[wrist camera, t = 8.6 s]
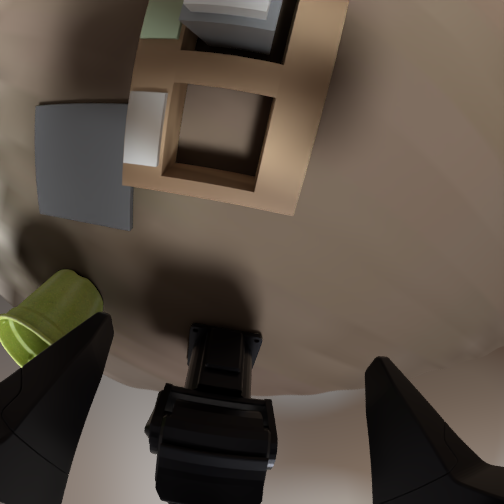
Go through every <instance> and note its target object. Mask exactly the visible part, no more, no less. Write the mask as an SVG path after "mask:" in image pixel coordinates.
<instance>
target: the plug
mask: <svg viewBox="0 0 504 504" xmlns="http://www.w3.org/2000/svg"><path fill="white" fill-rule="evenodd" d="M282 1H283V0H184V2H183V5H182V9H181V13H180V16H179V21H180V22H181V23H183V24H184V25H185V26H186V27H187V28H189V29H190V30H191V31H192V32H193V33H195V34H196V35H197V36H198V37H199V38H201V39H202V40H203V41H204V42H205V43H206V44H207V45H209V46H214V47H223V48H231V49H238V50H244V51H250V52H256V53H261V54H266V55H269V54H270V50H271V46H272V42H273V37H274V33H275V29H276V25H277V21H278V17H279V13H280V9H281V5H282Z"/></svg>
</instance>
